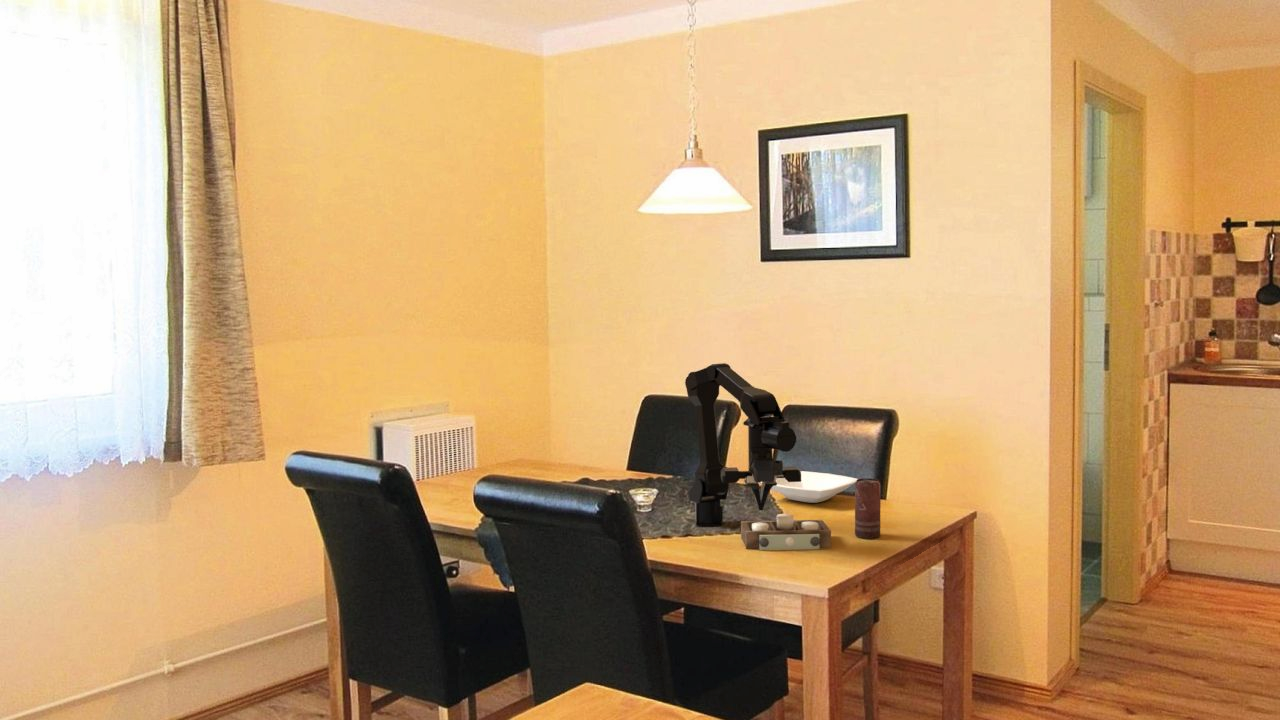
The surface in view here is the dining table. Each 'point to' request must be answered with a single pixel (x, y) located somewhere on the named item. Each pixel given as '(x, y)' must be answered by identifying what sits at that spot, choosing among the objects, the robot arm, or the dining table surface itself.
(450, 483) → the dining table surface
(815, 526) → the button right
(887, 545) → the dining table surface
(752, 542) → the brown compartment tray
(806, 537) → the card
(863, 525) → the can
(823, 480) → the bowl
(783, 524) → the button mid
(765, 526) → the button left
